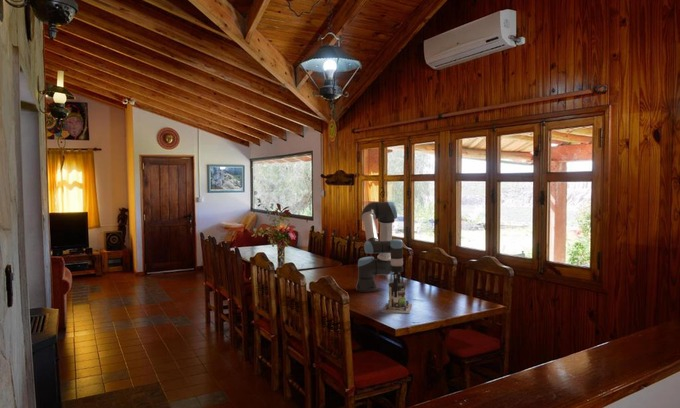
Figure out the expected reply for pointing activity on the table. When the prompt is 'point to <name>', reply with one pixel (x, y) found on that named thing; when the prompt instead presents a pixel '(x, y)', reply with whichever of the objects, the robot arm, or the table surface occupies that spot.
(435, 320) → the table surface
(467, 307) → the table surface
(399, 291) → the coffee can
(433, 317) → the table surface
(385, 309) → the pin plate
